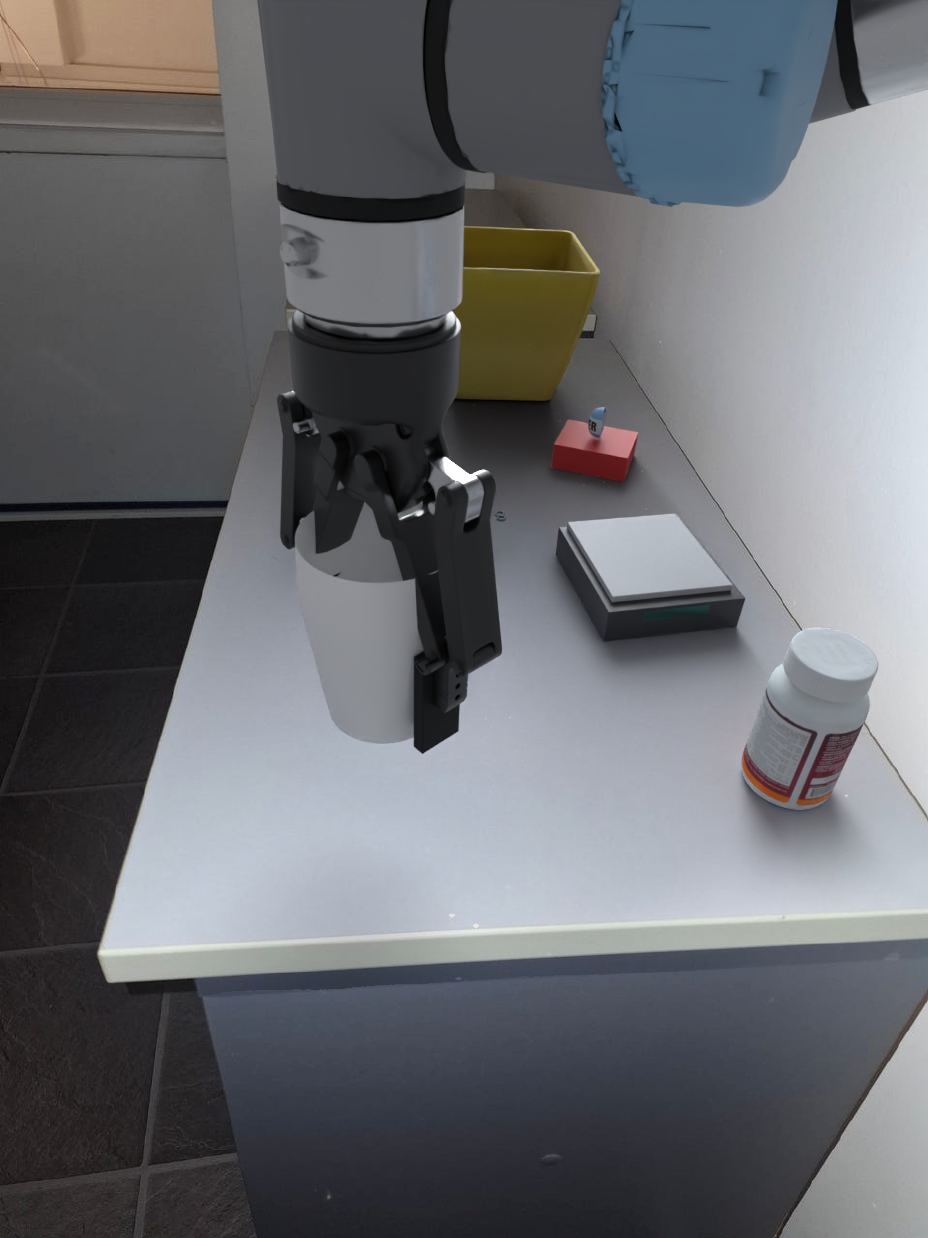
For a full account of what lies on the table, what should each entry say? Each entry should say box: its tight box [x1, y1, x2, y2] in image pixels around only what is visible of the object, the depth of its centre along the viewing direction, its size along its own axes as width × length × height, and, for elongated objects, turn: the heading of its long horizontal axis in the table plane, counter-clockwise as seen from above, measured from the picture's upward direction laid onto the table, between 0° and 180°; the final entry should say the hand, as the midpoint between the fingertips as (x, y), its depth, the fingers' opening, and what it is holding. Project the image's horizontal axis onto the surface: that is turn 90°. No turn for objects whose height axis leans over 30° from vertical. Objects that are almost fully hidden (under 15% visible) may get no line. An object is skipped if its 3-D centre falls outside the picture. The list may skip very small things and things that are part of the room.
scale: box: [555, 513, 746, 642], centre depth 75 cm, size 13×12×4 cm
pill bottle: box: [740, 626, 879, 811], centre depth 55 cm, size 6×6×11 cm
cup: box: [294, 501, 447, 745], centre depth 47 cm, size 9×9×12 cm
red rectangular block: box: [550, 406, 639, 483], centre depth 93 cm, size 8×7×6 cm
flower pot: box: [452, 225, 601, 402], centre depth 107 cm, size 19×19×17 cm
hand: (384, 696), depth 51 cm, fingers closed on cup, 9 cm apart
